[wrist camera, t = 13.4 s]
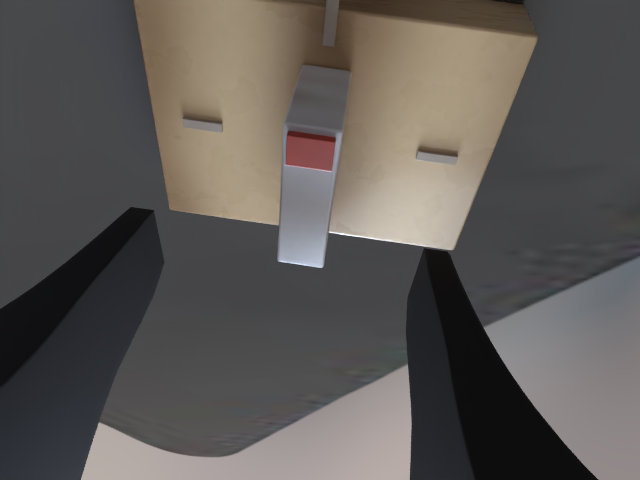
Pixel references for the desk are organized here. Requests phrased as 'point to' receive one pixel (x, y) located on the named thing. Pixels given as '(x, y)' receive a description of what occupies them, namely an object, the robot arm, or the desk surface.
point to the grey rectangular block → (311, 163)
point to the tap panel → (362, 110)
